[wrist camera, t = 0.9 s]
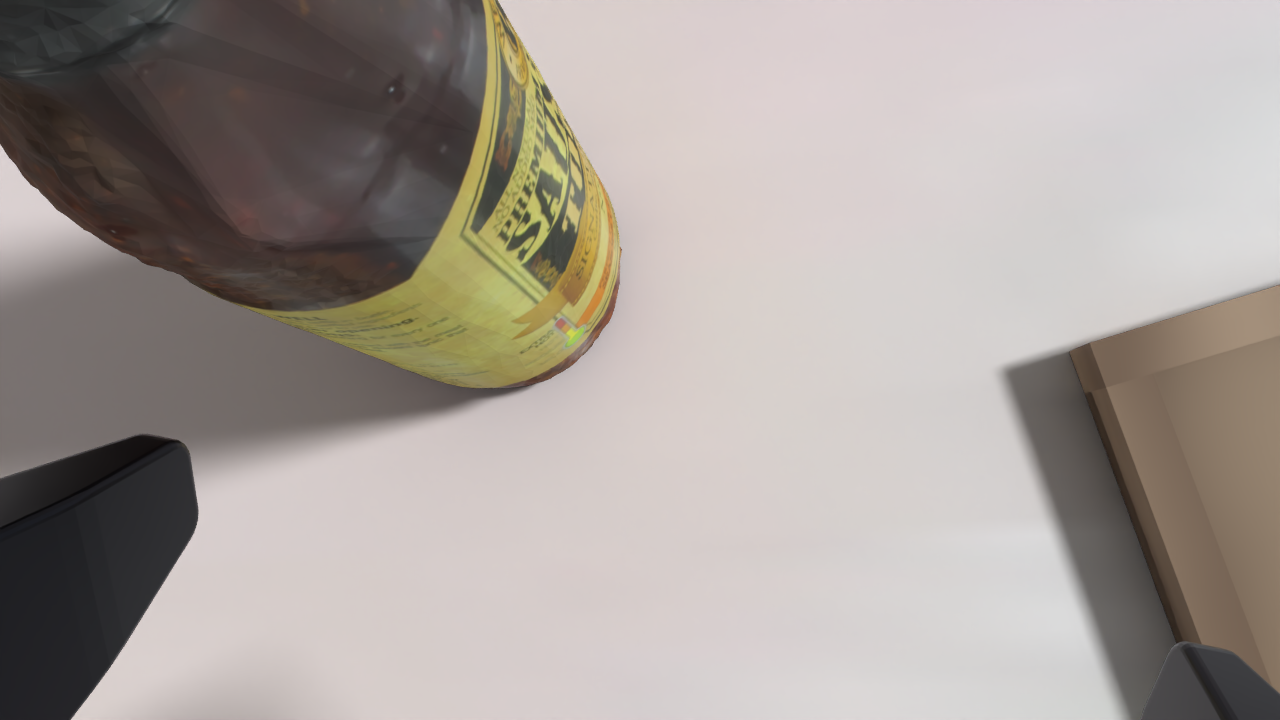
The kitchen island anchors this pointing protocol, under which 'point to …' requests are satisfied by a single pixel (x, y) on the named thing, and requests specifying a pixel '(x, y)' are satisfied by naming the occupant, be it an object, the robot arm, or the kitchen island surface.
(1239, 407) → the square brown tray
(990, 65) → the kitchen island surface
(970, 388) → the kitchen island surface
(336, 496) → the kitchen island surface
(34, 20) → the sauce bottle
